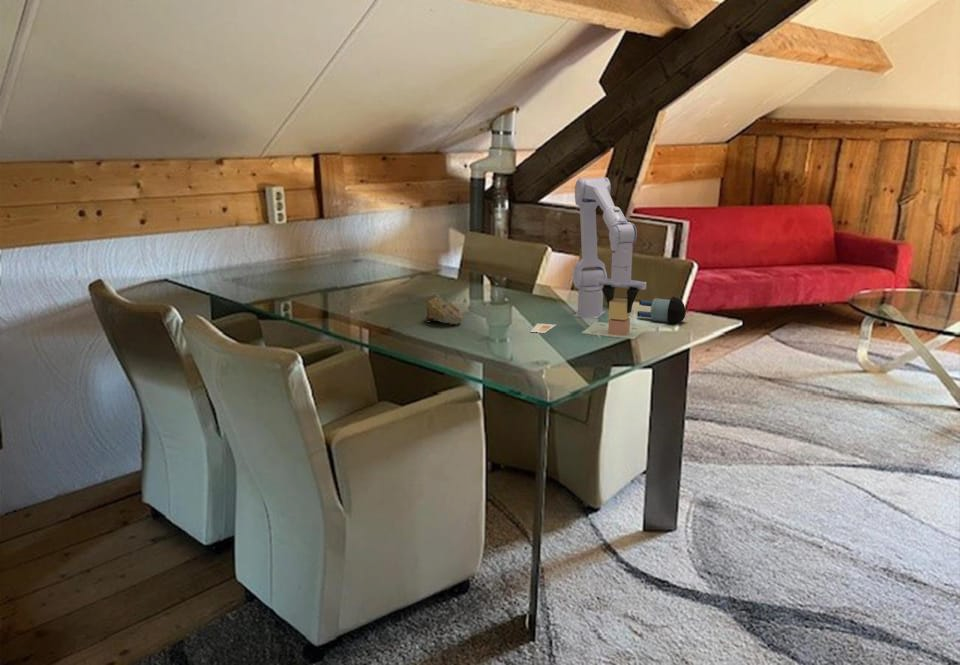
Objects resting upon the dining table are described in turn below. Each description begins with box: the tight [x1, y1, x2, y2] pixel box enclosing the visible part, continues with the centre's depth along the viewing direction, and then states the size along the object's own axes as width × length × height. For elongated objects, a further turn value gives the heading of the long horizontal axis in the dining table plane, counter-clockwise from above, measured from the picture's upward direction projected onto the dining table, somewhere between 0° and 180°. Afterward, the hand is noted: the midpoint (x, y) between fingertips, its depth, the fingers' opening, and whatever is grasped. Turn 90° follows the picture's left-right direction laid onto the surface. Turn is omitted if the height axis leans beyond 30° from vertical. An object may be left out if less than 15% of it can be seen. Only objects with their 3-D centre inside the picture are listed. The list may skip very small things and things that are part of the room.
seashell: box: [425, 293, 464, 325], centre depth 232 cm, size 11×14×10 cm
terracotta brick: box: [608, 317, 631, 335], centre depth 218 cm, size 5×5×4 cm
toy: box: [636, 296, 687, 325], centre depth 230 cm, size 8×9×15 cm
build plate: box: [581, 321, 648, 340], centre depth 221 cm, size 14×16×1 cm
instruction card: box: [529, 323, 557, 334], centre depth 225 cm, size 10×7×1 cm
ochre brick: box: [608, 297, 631, 320], centre depth 216 cm, size 5×5×5 cm
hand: (619, 311), depth 217 cm, fingers closed on ochre brick, 5 cm apart
